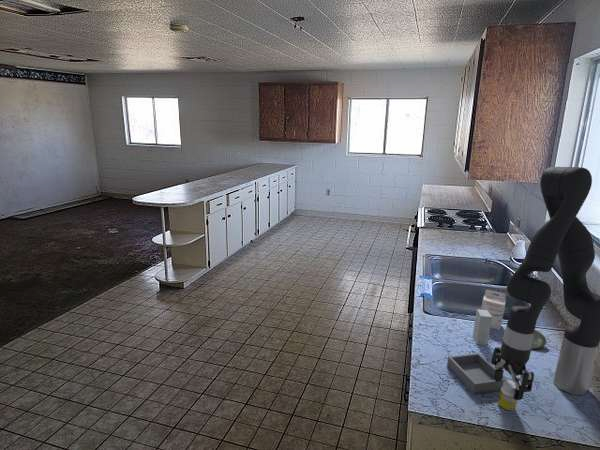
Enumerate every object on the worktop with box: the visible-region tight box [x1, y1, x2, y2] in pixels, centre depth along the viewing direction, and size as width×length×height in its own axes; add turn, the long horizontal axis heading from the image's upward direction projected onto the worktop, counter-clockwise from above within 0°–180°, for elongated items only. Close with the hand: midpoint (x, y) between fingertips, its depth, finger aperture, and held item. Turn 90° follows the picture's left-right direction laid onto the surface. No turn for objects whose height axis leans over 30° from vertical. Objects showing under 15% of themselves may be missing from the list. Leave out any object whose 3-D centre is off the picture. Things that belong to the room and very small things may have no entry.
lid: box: [531, 329, 547, 350], centre depth 156 cm, size 11×10×5 cm
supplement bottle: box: [497, 379, 518, 414], centre depth 120 cm, size 5×5×8 cm
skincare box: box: [472, 308, 492, 345], centre depth 156 cm, size 6×4×12 cm
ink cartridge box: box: [480, 289, 507, 331], centre depth 168 cm, size 9×5×15 cm, turn 59°
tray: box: [446, 352, 509, 396], centre depth 135 cm, size 12×15×4 cm
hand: (507, 389), depth 120 cm, fingers open, 8 cm apart
